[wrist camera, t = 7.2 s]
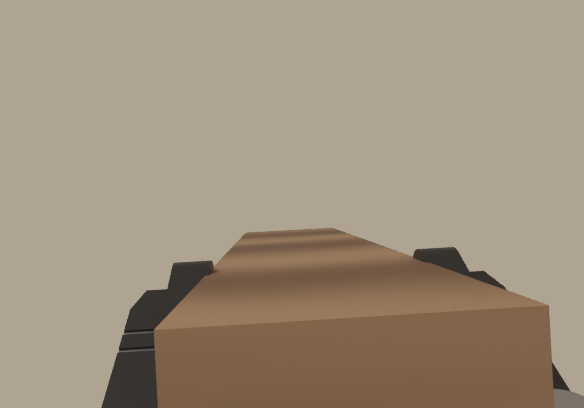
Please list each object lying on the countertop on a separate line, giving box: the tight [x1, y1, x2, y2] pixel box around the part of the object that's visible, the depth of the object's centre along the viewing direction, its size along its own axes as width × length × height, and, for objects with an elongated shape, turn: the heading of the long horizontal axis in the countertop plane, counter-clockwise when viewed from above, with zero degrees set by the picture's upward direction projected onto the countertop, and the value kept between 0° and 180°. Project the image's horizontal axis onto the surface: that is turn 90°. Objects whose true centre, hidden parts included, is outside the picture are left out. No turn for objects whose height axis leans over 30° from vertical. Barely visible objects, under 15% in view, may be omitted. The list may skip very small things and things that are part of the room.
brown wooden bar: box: [154, 228, 554, 408], centre depth 16 cm, size 20×4×4 cm, turn 2°
